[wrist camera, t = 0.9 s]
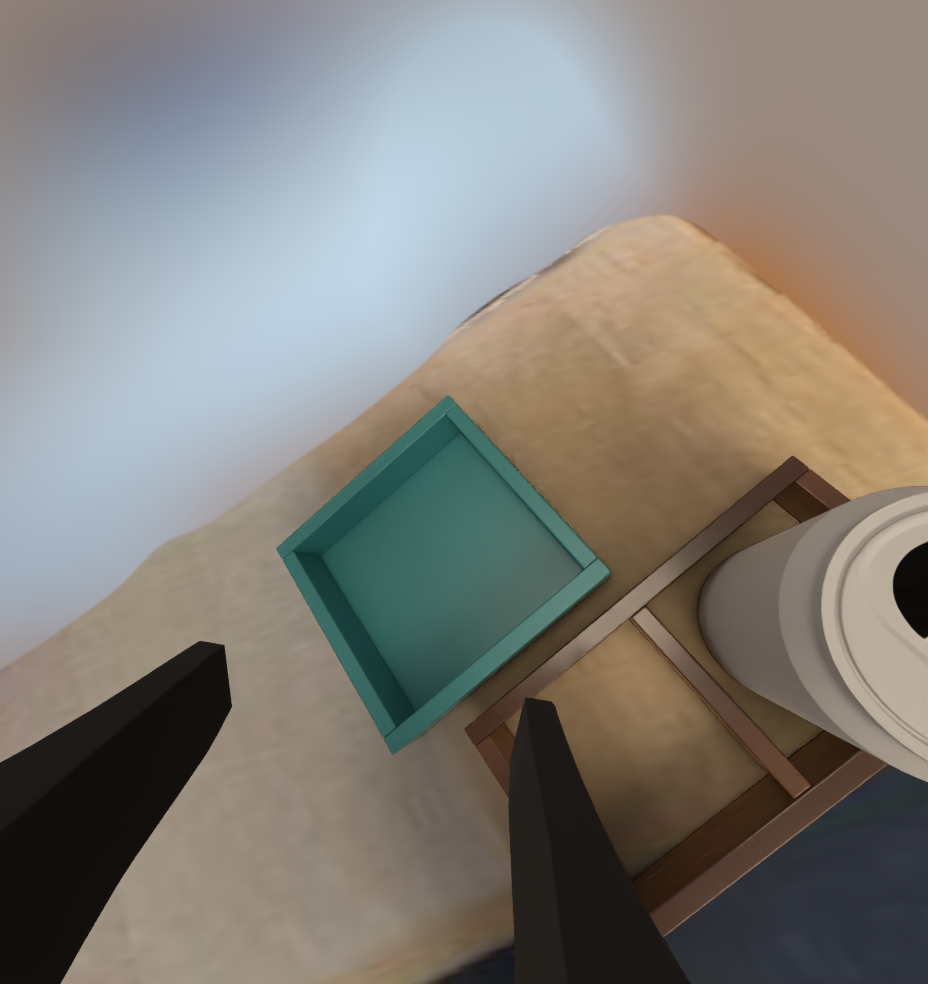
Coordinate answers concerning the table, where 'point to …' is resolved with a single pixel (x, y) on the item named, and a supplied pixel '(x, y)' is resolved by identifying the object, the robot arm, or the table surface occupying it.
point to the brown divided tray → (791, 782)
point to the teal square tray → (436, 571)
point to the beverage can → (835, 623)
